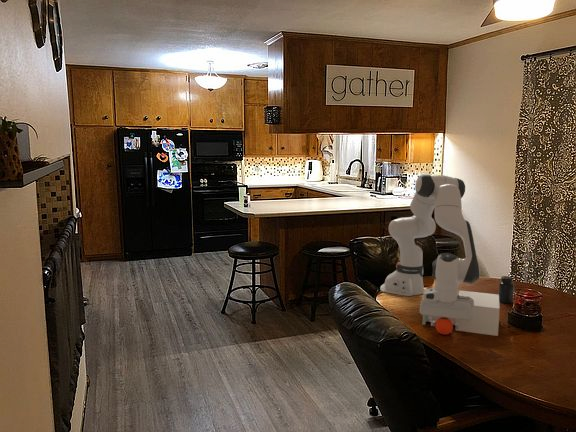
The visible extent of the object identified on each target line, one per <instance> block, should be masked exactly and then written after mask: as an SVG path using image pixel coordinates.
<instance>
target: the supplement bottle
mask: <svg viewBox="0 0 576 432" xmlns="http://www.w3.org/2000/svg"><path fill="white" fill-rule="evenodd" d="M497 291H498V293H497V294H498V295H499V303H501V304H502V303H503V304H513V303H514V301H513V294H514V295H515V284H514V282H513V276H509V275H504V276H501V278H500V282H499V283H498V290H497ZM512 302H513V303H512Z"/></svg>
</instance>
